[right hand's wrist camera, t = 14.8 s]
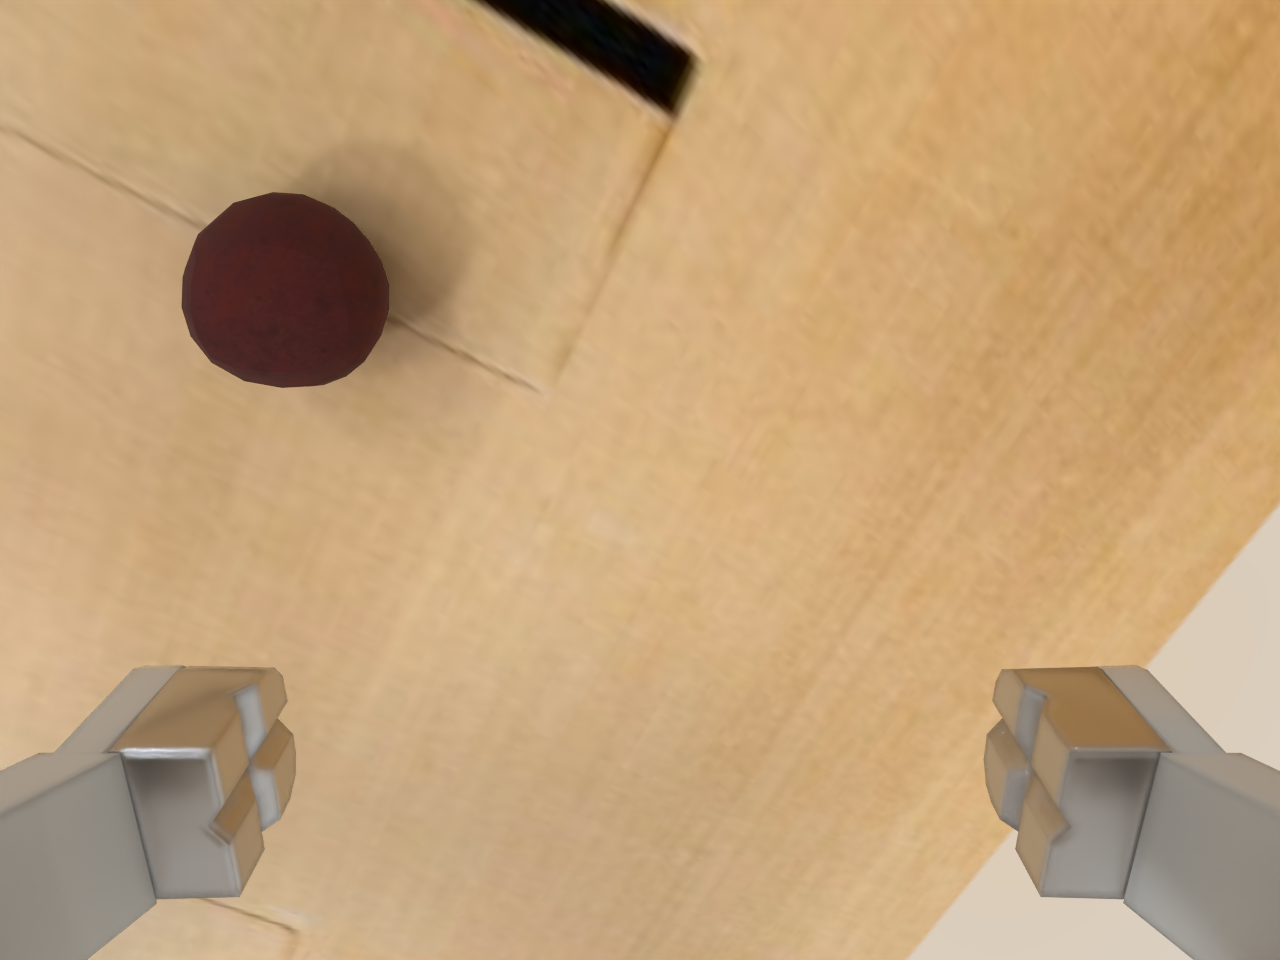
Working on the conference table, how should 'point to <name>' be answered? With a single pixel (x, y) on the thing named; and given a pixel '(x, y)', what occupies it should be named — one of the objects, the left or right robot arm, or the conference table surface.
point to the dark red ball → (284, 292)
